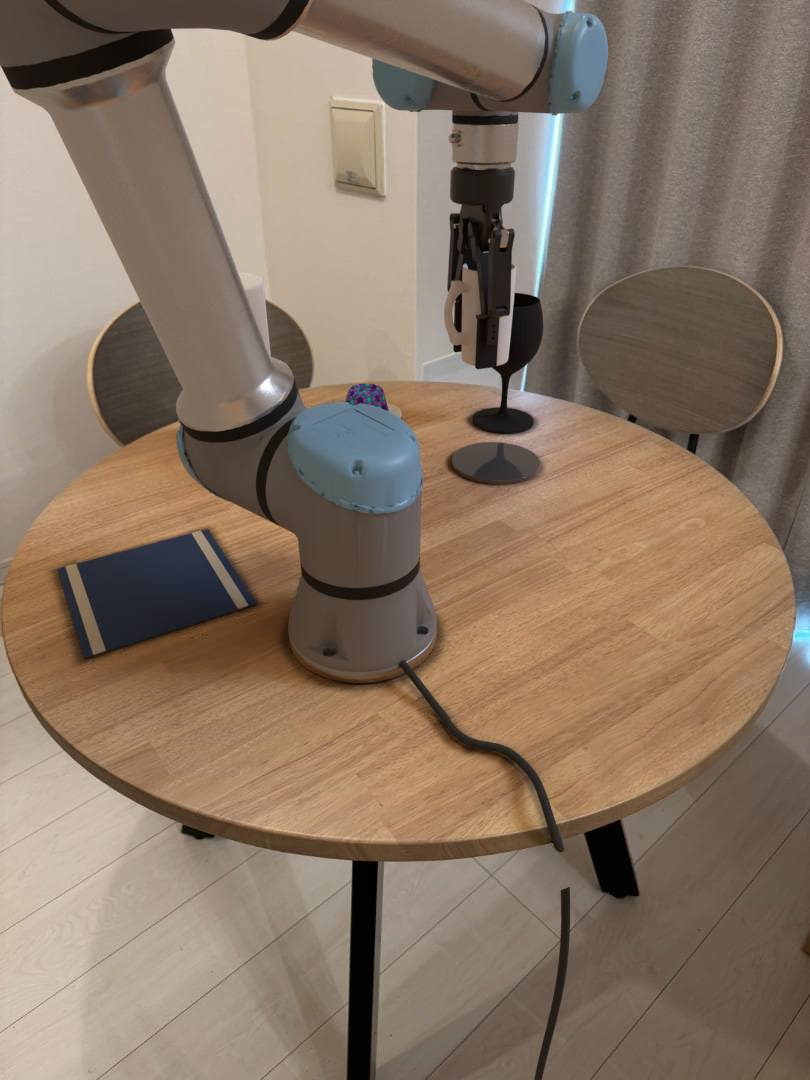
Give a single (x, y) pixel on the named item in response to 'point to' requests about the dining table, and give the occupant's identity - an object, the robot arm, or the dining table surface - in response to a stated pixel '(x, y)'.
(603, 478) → the dining table surface
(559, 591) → the dining table surface
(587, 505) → the dining table surface
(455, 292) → the mug
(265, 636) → the dining table surface
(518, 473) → the coaster
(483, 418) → the wine glass
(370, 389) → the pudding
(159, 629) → the placemat
